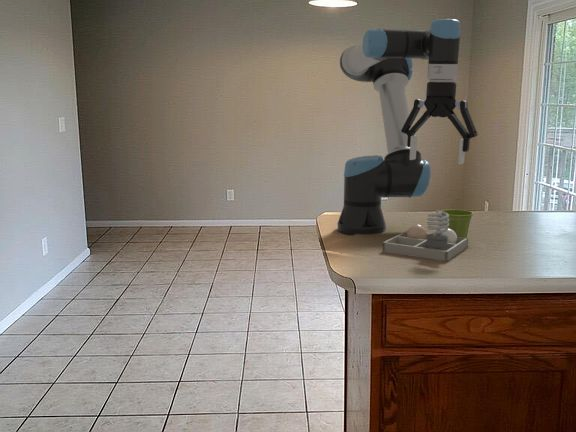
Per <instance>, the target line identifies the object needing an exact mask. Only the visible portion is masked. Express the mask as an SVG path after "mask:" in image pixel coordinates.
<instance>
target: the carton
mask: <svg viewBox="0 0 576 432" xmlns="http://www.w3.org/2000/svg"><path fill="white" fill-rule="evenodd" d="M407 231H408V229H407V230H405V231H404V232H402V233H400V234H397V235H395V236H393V237H391V238H388V239H387V240H385V241H382V252H383V253H389V254H396V255H402V256H403V255H404V256H410V257H415V258H416V257H417V258H421V259H429V260H434V261H441V262H448V261H450V260H452V259H453V258H454V257H456V256H457V255H459V254H460V253H461V252H463V251H464V250H466V249H467V248H468V245H469V238H468V237H467V238H462V237H457V242H456V244H451V243H447V246H446V247H445V248H442V250H436V249H432V248H431V247H429V246H428V245H427V237H426V239H425V240H422V239H415V238H408V237H407ZM428 234H431V232H427V235H428Z"/></svg>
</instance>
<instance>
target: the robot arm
mask: <svg viewBox="0 0 576 432" xmlns="http://www.w3.org/2000/svg"><path fill="white" fill-rule="evenodd" d="M362 38H363V39H362V42H361V43H360V44H358V45H357V44H356V45H351V46H349V47H347V48H345V50H344V51H343V52H342V53H341V55H340V58H339V68H340V69H341V72H342V73H343V74H344V75H345V76H346V77H347V78H348V79H351V80H353V81H357V82H363V83H373V84H372V85H373V89H374V90H375V91H376V92H378V94H379V99H380V100H379V101H380V108H381V114H382V122H383V128H384V134H385V142H386V148H387V149H386V150H387V154H385V156H384V158H383V156H382V155H377V154H376V155H363V156H357V157H353V158H349V159H348V160H347V161H345V164H344V173H343V180H344V181H343V205H342V206H343V207H342V210H341V213H340V216H339V219H338V222H337V231H338V232H339V233H342V234H346V235H352V236H354V235H377V234H381V233H384V232H386V230H387V229H386V228H387V225H386V224H387V223H386V219H385V218H384V213H383V209H382V198H409V199H410V198H415V197H421V196H424V195H425V194H426V192H427V190H428V188H429V185H430V180H431V165H430V162H429V160H428V159H425V158H424V159H422V154H421V152H420V150H418V149H417V145H418V144H417V143H418V135H416V133H417V132H418V131H419V130H420V129H421V127H422V126H423V125H424V124H425V123H426V122H427V121H428V120H429V119H430V118H431V117H432V118H438V117H439V118H447V119H448V120H450V122H451V123H452V125H453V126H454V128H455V129H456V130H457V131H458V133H459V135H460V136H461V139H459V148H458V158H457V159H458V160H457V165H463V164H465V158H466V156H465V155H466V153H467V152H469V149H470V140H471V139H472V138H475V137H477V136H478V132H477V129H476V126H475V124H474V122H473V119H472V116H471V114H470V112H469V108H468V101H467V100H460V101H457V100H456V97H457V96H456V94H457V93H456V92H457V83H456V82H455V81H457V80H458V66H459V65H458V64H459V53H460V52H459V51H460V41H461V40H460V39H461V22H460V20H458V19H454V18H453V19H452V18H441V19H434V20H432V21H431V22H430V28H429V30H428V29H426V30H425V29H385V28H384V29H383V28H374V29H371V28H370V29H367V30H365V32H364V34H363V37H362ZM414 59H416V60H417V59H420V60H428V63H427V64H428V65H427V77H426V78H427V80H428V82H427V83H426V96H425V97H426V98H425V100H424V99H421V98H416V99H414V102H413V107H412V109H411V111H409V104H408V99H407V92H406V87H407V86H408V84H409V81H410V80H411V78H412V76H413V71H414V69H413V65H414V64H413V60H414ZM423 107H425V109H426V110H425V111H424V113H423V114H422V115H421V117H420V118H419V119H418V120H417V121H416V122H415V120H416V119H417V116H418V114H419V113H420V110H421V109H422V108H423ZM455 108H457V109H458V110H459V111H460V113H461V114H460V115H461V117H462V120H463V121H464V122H463V123H464V124H465V126H466V127H465V126H464V125H463V123H462V121H460V119H459V117H457V114H456V113H455V111H454V110H455ZM414 122H415V123H414ZM413 124H414V125H413Z"/></svg>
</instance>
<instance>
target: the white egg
mask: <svg viewBox="0 0 576 432" xmlns="http://www.w3.org/2000/svg"><path fill="white" fill-rule="evenodd" d="M444 229H445V228H443V229H441V230H444ZM442 234H445V235H447V236H448V241H447V243H451V244H456V242H457V235H456V233H455V232H454V231H453V230H452V229H449V228H448V230H447V231H446V232H443V233H442Z"/></svg>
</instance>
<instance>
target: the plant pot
mask: <svg viewBox="0 0 576 432" xmlns="http://www.w3.org/2000/svg"><path fill="white" fill-rule="evenodd" d="M441 211H443V212H446V213H448V214H449V222H448V223H449V226H448V228H449V229H452V230H453V231H454V232H455V233H456V235H457V237H462V238H468V232H469V228H470V223H471V220H472V216H473V215H474V212H473V211H470V210H465V209H442V210H441ZM441 215H443V214H441ZM443 216H446V215H443ZM445 221H446V219H445ZM444 225H446V224H444Z"/></svg>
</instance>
